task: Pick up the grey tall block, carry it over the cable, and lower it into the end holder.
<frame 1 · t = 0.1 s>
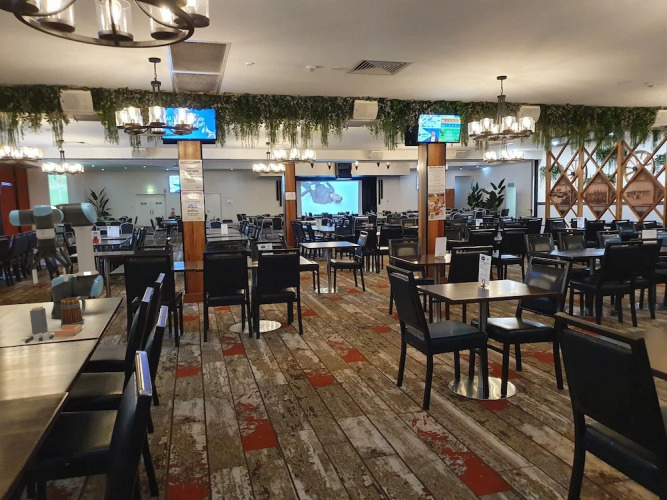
hand: (51, 282, 232), 28 cm above the table, tool pointing down, fingers open, 13 cm apart
end holder: (68, 333, 239), resting on route board
mug: (76, 326, 258), on the table
grey tall block: (40, 332, 242), point 1 cm above the table, touching route board
cable clips: (43, 339, 231), resting on route board
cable: (40, 339, 231), resting on route board
route board: (52, 337, 238), on the table
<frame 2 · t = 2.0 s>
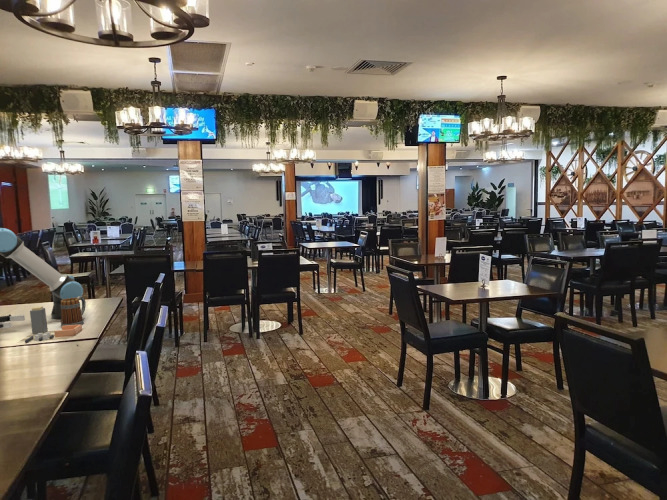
hand: (18, 321, 240), 8 cm above the table, tool horizontal, fingers open, 13 cm apart
nothing on the table moved.
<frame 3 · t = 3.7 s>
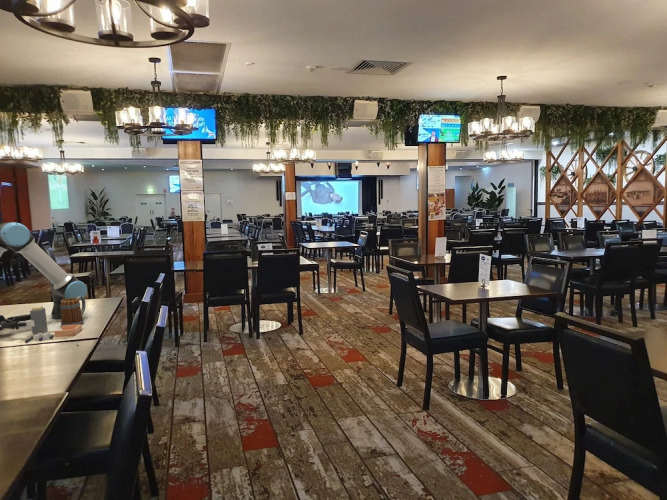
hand: (40, 319, 241), 8 cm above the table, tool horizontal, fingers open, 13 cm apart
nothing on the table moved.
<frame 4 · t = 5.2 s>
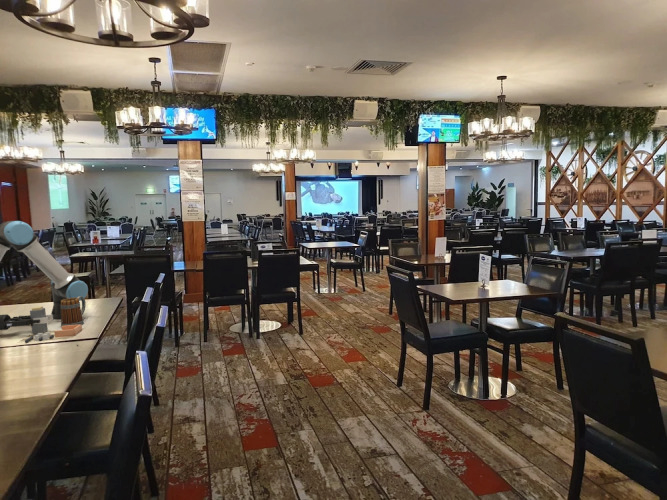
hand: (50, 318, 242), 8 cm above the table, tool horizontal, fingers closed on grey tall block, 5 cm apart
grey tall block: (40, 332, 242), point 1 cm above the table, touching gripper, route board
everything else where it was.
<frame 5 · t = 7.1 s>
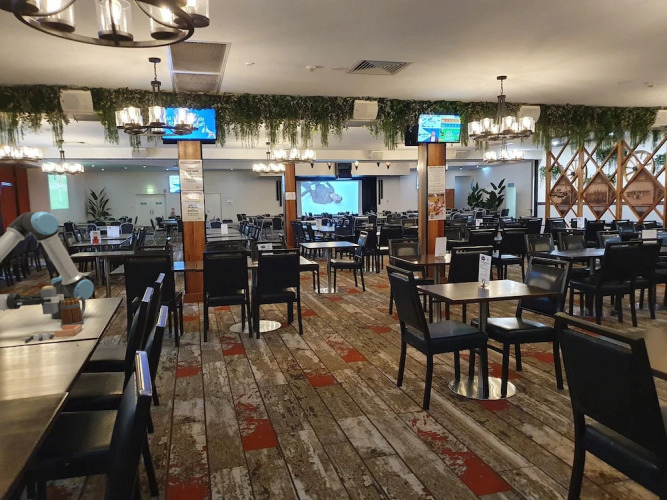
hand: (60, 298, 237), 19 cm above the table, tool horizontal, fingers closed on grey tall block, 5 cm apart
grey tall block: (50, 312, 237), point 12 cm above the table, touching gripper
everything else where it was.
when the fingers open (10 cm above the table, at t = 9.4 s): grey tall block drops 1 cm, resting on end holder.
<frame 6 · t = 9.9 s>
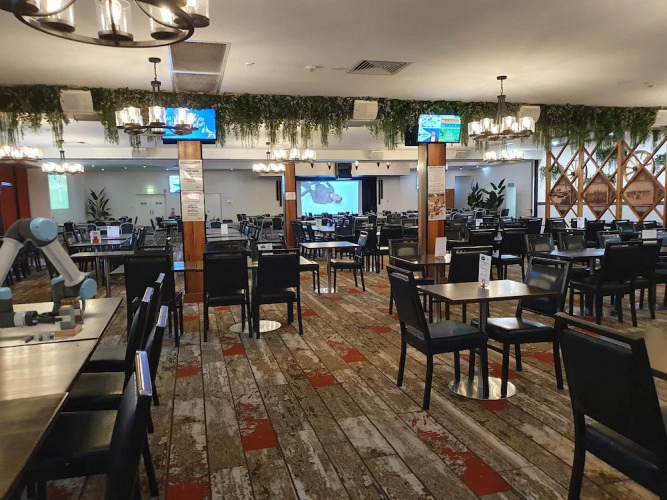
hand: (75, 315, 238), 10 cm above the table, tool horizontal, fingers open, 12 cm apart
grey tall block: (68, 332, 239), point 2 cm above the table, touching end holder
everything else where it was.
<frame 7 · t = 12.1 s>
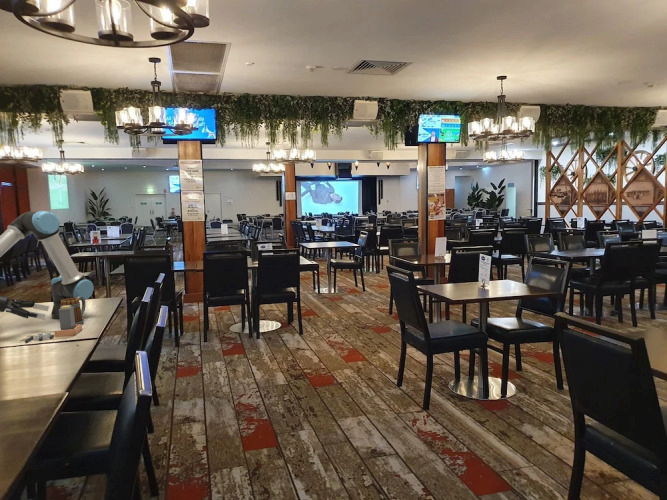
hand: (46, 312, 241), 11 cm above the table, tool tilted 70°, fingers open, 13 cm apart
nothing on the table moved.
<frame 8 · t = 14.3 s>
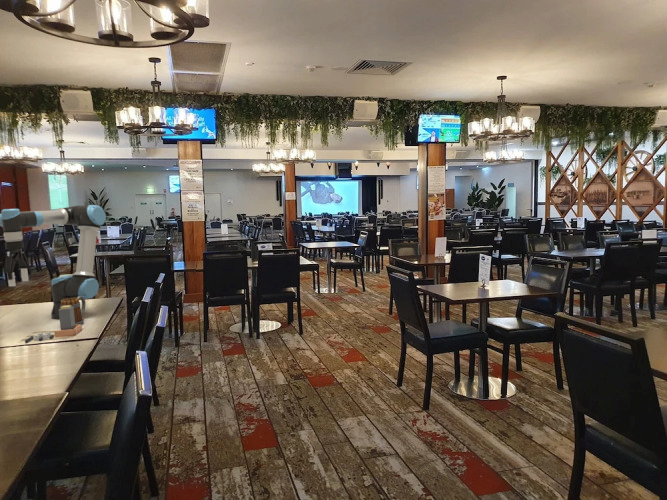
hand: (19, 283, 238), 27 cm above the table, tool pointing down, fingers open, 13 cm apart
nothing on the table moved.
at the end: grey tall block inside the target area on the end holder (0.4 cm from its centre), point 0.8 cm above the end holder's base; grey tall block tilted 0°; the gripper is holding nothing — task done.
